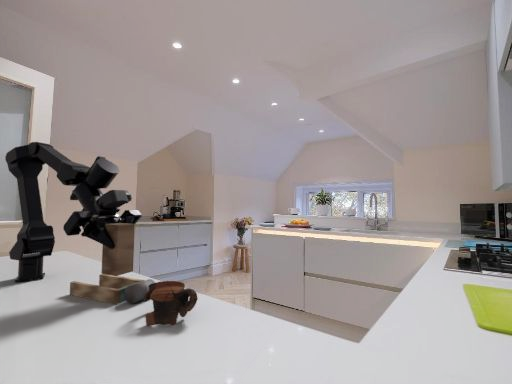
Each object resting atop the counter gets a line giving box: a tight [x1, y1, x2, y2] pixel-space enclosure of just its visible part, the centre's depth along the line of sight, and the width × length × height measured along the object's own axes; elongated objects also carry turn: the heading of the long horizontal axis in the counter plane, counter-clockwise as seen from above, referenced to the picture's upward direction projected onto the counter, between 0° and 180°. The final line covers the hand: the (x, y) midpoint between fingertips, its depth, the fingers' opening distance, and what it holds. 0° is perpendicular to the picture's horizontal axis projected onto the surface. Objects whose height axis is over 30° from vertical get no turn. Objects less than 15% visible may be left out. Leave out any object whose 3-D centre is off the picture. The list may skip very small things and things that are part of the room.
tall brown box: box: [101, 223, 136, 276], centre depth 68 cm, size 5×5×12 cm
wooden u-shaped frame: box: [69, 273, 156, 305], centre depth 68 cm, size 20×9×4 cm, turn 68°
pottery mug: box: [143, 280, 198, 327], centre depth 56 cm, size 12×10×8 cm
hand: (122, 246), depth 68 cm, fingers closed on tall brown box, 5 cm apart
